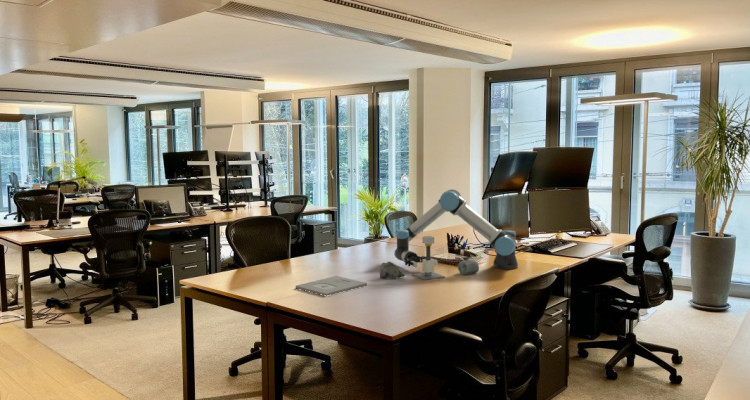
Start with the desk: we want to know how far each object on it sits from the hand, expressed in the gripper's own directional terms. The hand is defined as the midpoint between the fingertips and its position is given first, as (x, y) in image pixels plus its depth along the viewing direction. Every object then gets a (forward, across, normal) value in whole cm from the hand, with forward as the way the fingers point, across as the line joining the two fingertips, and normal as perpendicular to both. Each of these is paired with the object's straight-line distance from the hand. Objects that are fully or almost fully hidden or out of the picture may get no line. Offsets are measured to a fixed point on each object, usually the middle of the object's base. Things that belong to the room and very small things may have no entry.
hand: (426, 264), depth 331 cm
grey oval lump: (+4, -26, -8) cm, 27 cm away
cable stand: (+1, 0, -7) cm, 7 cm away
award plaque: (0, +59, -8) cm, 60 cm away
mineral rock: (-4, +21, -8) cm, 23 cm away
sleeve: (+1, 0, -4) cm, 4 cm away
